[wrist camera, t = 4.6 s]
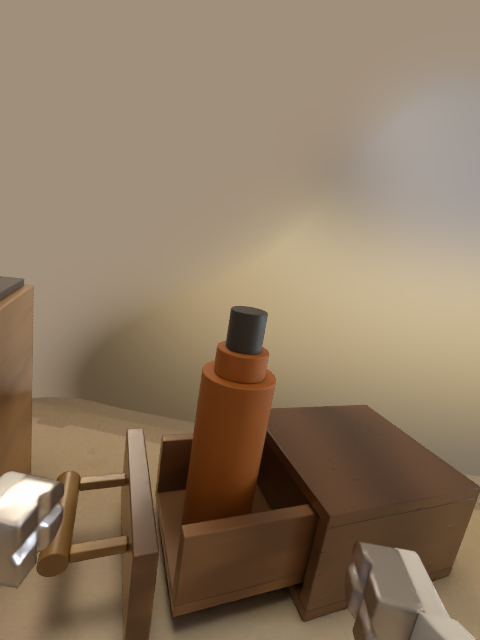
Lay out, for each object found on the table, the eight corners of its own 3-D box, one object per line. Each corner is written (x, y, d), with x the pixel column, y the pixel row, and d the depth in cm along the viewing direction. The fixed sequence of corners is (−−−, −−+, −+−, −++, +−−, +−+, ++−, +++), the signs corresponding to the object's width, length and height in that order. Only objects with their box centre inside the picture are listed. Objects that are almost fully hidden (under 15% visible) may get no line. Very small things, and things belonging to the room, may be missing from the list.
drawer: (24, 680, 15) (24, 577, 13) (60, 502, 24) (62, 432, 23) (319, 594, 20) (339, 517, 19) (255, 478, 30) (266, 421, 29)
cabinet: (303, 622, 20) (330, 516, 18) (238, 484, 30) (251, 409, 28) (449, 575, 24) (482, 487, 23) (349, 469, 35) (366, 404, 33)
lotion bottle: (188, 563, 20) (224, 317, 17) (176, 505, 24) (202, 298, 21) (257, 549, 22) (302, 323, 18) (234, 496, 26) (268, 304, 22)
